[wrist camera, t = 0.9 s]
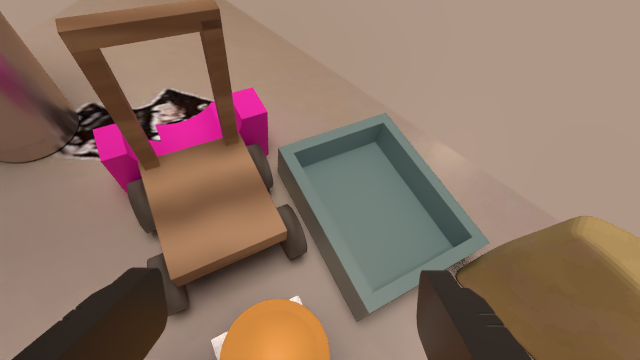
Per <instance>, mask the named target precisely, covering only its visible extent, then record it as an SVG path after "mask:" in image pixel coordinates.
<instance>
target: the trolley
mask: <svg viewBox="0 0 640 360" xmlns="http://www.w3.org/2000/svg"><path fill="white" fill-rule="evenodd" d="M55 20H56V26H57V31H58V34H59V35H60V37H61V38H62V40H63V42H64V43H65V45H66V46H67V48H68V49H69V51H70V53H71V54H72V56H73V57H74V59H75V60H76V62H77V64H78V65H79V67H80V68H81V70H82V71H83V73H84V75H85V76H86V78H87V79H88V81H89V82H90V84H91V86H92V87H93V89H94V90H95V92H96V94H97V95H98V97H99V98H100V100H101V101H102V103H103V105H104V106H105V108H106V109H107V111H108V112H109V114H110V116H111V117H112V119H113V120H114V122H115V123H116V125H117V127H118V128H119V130H120V131H121V133H122V135H123V136H124V138H125V139H126V141H127V142H128V144H129V146H130V147H131V149H132V150H133V152H134V153H135V155H136V157H137V158H138V160H139V161H140V162H138V165H139V169H140V173H141V176H142V179H139V180H136V181H133V182H130V183H127V192H128V196H129V200H130V203H131V206H132V208H133V211H134V213H135V215H136V217H137V219H138V221H139V223H140V225H141V226H142V228H143V229H144V230H145V231H146V232H147V233H149V232H152V231H154V230H157V233H158V237H159V240H160V244H161V247H162V251H163V253H162V254H159V255H157V256H154V257H152V258H149V259H148V260H147V268H158V269H160V271H161V273H162V277H163V284H164V290H165V297H166V303H167V309H168V316H170V315H173V314H175V313H177V312H179V311H181V310H183V309H186V308H188V307H189V300H188V295H187V290H186V287H185V284H186V283H188V282H191V281H193V280H195V279H197V278H200V277H202V276H204V275H207V274H209V273H211V272H213V271H216V270H218V269H220V268H223V267H225V266H227V265H229V264H232V263H234V262H236V261H239V260H241V259H243V258H245V257H248V256H250V255H252V254H255V253H257V252H259V251H261V250H264V249H266V248H268V247H270V246H273V245H275V244H277V243H281V245H282V247H283V249H284V251H285V253H286V254H287V256H288V257H289V258H290V259H293V258H295V257H297V256H300V255H302V254H304V253H306V252H307V242H306V238H305V235H304V232H303V229H302V227H301V224H300V222H299V220H298V218H297V216H296V214H295V213H294V211H293V209H292V208H291V207H290V206H289V205H288V204H286V205H283V206H281V207H278V208H276V207H275V205H274V203H273V200H272V198H271V196H270V194H269V192H268V190H267V189H268V188H271V187H273V179H272V174H271V170H270V167H269V164H268V161H267V159H266V156H265V154H264V152H263V150H262V149H261V147H260V146H259V144H257V143H255V144H252V145H249V146H246V145H245V143H244V141H243V139H242V137H241V135H240V133H238V130H237V124H236V117H235V110H234V104H233V97H232V90H231V84H230V77H229V70H228V64H227V57H226V50H225V44H224V37H223V30H222V24H221V17H220V10H219V7H218V6H217V4H216V2H215V1H214V0H194V1H186V2H179V3H171V4H164V5H156V6H149V7H141V8H134V9H126V10H119V11H111V12H104V13H96V14H89V15H81V16H74V17H66V18H59V19H55ZM194 32H200V36H201V41H202V45H203V50H204V54H205V59H206V64H207V68H208V73H209V77H210V82H211V86H212V91H213V96H214V100H215V105H216V109H217V114H218V119H219V123H220V128H221V132H222V137H223V138H220V139H216V140H213V141H209V142H206V143H203V144H199V145H196V146H192V147H189V148H185V149H182V150H179V151H175V152H172V153H168V154H165V155H161V156H158V157H157V155H156V153H155V151H154V149H153V147H152V145H151V143H150V142H149V140H148V138H147V136H146V134H145V132H144V130H143V129H142V127H141V125H140V123H139V121H138V119H137V117H136V116H135V114H134V112H133V110H132V108H131V106H130V104H129V103H128V101H127V99H126V97H125V95H124V93H123V91H122V89H121V88H120V86H119V84H118V82H117V80H116V78H115V76H114V75H113V73H112V71H111V69H110V67H109V65H108V63H107V62H106V60H105V58H104V56H103V54H102V52H101V50H100V49H99V48H105V47H111V46H117V45H123V44H129V43H135V42H140V41H146V40H152V39H158V38H164V37H170V36H176V35H182V34H188V33H194Z"/></svg>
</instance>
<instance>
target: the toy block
mask: <svg viewBox="0 0 640 360" xmlns="http://www.w3.org/2000/svg"><path fill="white" fill-rule="evenodd" d="M232 97H233V104H234V110H235V117H236V124H237V130H238V133H240V135H241V137H242V139H243V141H244V143H245V145H246V146H249V145H252V144H255V143H257V144H259V146H260V147H261V149H262V150H263V152H264V154H265V156H267V155H268V117H267V110H266V109H265V107H264V105H263V104H262V102H261V100H260V99H259V97H258V95H257V94H256V92H255V90H254V89H253V88H249V89H245V90H241V91H237V92H234V93H232ZM156 128H157V131H158V133H159V136H160V139H161V141H151V140H149V142H150V143H151V145H152V147H153V149H154V151H155V153H156V155H157V157H158V156H161V155H165V154H168V153H172V152H175V151H179V150H182V149H185V148H189V147H192V146H196V145H199V144H203V143H206V142H209V141H213V140H216V139H220V138H223V137H222V132H221V128H220V123H219V119H218V114H217V109H216V105H215V102H212V103H211V104H210V105H209V106H208V107H207V108H206V109H205V110H203V111H202V112H201V113H199V114H198V115H196V116H194V117H193V118H190V119H188V120H186V121H183V122H179V123H175V124H168V125H156ZM93 133H94V137H95V141H96V145H97V149H98V153H99V156H100V160H101V162H102V164H103V165H104V166H105V167H106V168H107V170H108V171H109V172H110V173H111V175H112V176H113V177H114V178H115V179H116V181H117V182H118V183H119V184H120V186H121V187H122V188H123V189H124V190H125V192H126V193H127V194H128V192H127V183H130V182H133V181H136V180H139V179H142V176H141V173H140V169H139V165H138V162H140V161H139V160H138V158H137V157H136V155H135V153H134V152H133V150H132V149H131V147H130V146H129V144H128V142H127V141H126V139H125V138H124V136H123V135H122V133H121V131H120V130H119V128H118V127H117V125H116V124H112V125H108V126H104V127H101V128H97V129H93Z"/></svg>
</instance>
